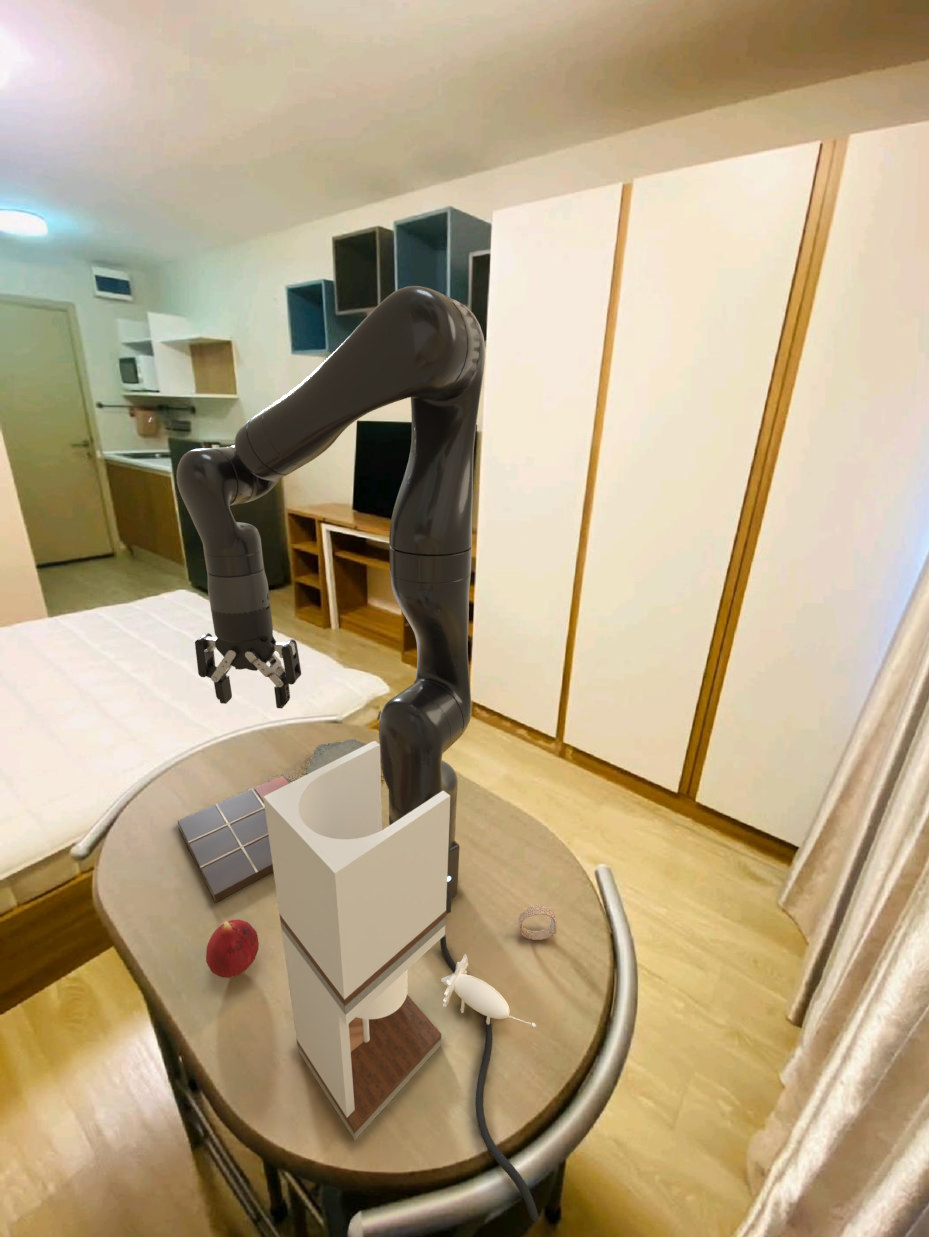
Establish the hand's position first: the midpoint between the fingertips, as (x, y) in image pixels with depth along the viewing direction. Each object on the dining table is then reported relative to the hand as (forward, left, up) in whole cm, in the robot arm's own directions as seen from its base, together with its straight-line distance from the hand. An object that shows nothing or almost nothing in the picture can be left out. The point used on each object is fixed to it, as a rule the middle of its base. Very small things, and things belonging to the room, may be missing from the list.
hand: (254, 703), depth 77 cm
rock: (+4, -16, -24) cm, 29 cm away
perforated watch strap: (-41, -19, -24) cm, 51 cm away
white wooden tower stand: (-38, +5, -24) cm, 45 cm away
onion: (-20, +13, -24) cm, 34 cm away
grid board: (0, +3, -24) cm, 24 cm away
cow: (-44, -7, -24) cm, 51 cm away
